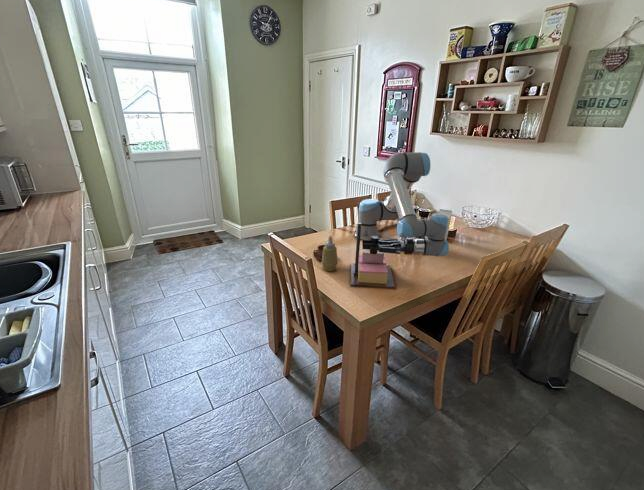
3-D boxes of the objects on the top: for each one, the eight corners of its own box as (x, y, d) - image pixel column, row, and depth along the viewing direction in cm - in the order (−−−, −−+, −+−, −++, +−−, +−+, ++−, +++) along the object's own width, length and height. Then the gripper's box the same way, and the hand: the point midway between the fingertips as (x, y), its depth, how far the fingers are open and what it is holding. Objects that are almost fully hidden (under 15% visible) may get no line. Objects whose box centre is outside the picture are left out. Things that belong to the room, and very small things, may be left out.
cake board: (350, 265, 171) (353, 215, 160) (389, 267, 169) (395, 217, 158) (350, 286, 151) (354, 231, 140) (394, 288, 149) (401, 233, 138)
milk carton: (445, 241, 203) (451, 212, 195) (434, 239, 206) (438, 210, 198) (447, 237, 209) (452, 209, 201) (435, 235, 212) (440, 207, 204)
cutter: (361, 263, 160) (363, 235, 154) (382, 264, 159) (385, 236, 153) (362, 267, 157) (364, 238, 150) (383, 268, 156) (386, 239, 150)
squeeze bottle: (330, 264, 172) (331, 231, 164) (340, 269, 166) (342, 236, 158) (318, 268, 167) (318, 235, 160) (327, 274, 161) (328, 240, 154)
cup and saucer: (321, 264, 171) (322, 253, 168) (308, 256, 180) (308, 246, 177) (339, 259, 177) (340, 248, 175) (326, 251, 186) (326, 241, 184)
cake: (357, 265, 168) (358, 255, 166) (383, 267, 167) (384, 256, 165) (358, 282, 152) (359, 270, 150) (386, 283, 151) (388, 272, 149)
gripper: (415, 261, 146) (362, 259, 148) (409, 247, 161) (361, 244, 163) (417, 246, 143) (363, 243, 145) (411, 233, 158) (362, 230, 160)
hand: (362, 244), depth 154 cm, fingers closed on cutter, 4 cm apart
